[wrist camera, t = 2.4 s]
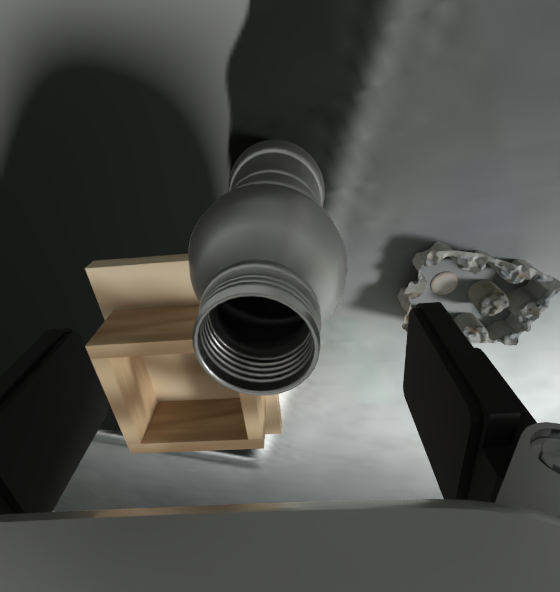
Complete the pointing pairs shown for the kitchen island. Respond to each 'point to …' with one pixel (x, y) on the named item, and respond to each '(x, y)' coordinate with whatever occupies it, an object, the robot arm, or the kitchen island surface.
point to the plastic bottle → (265, 272)
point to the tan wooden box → (166, 364)
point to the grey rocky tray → (485, 293)
